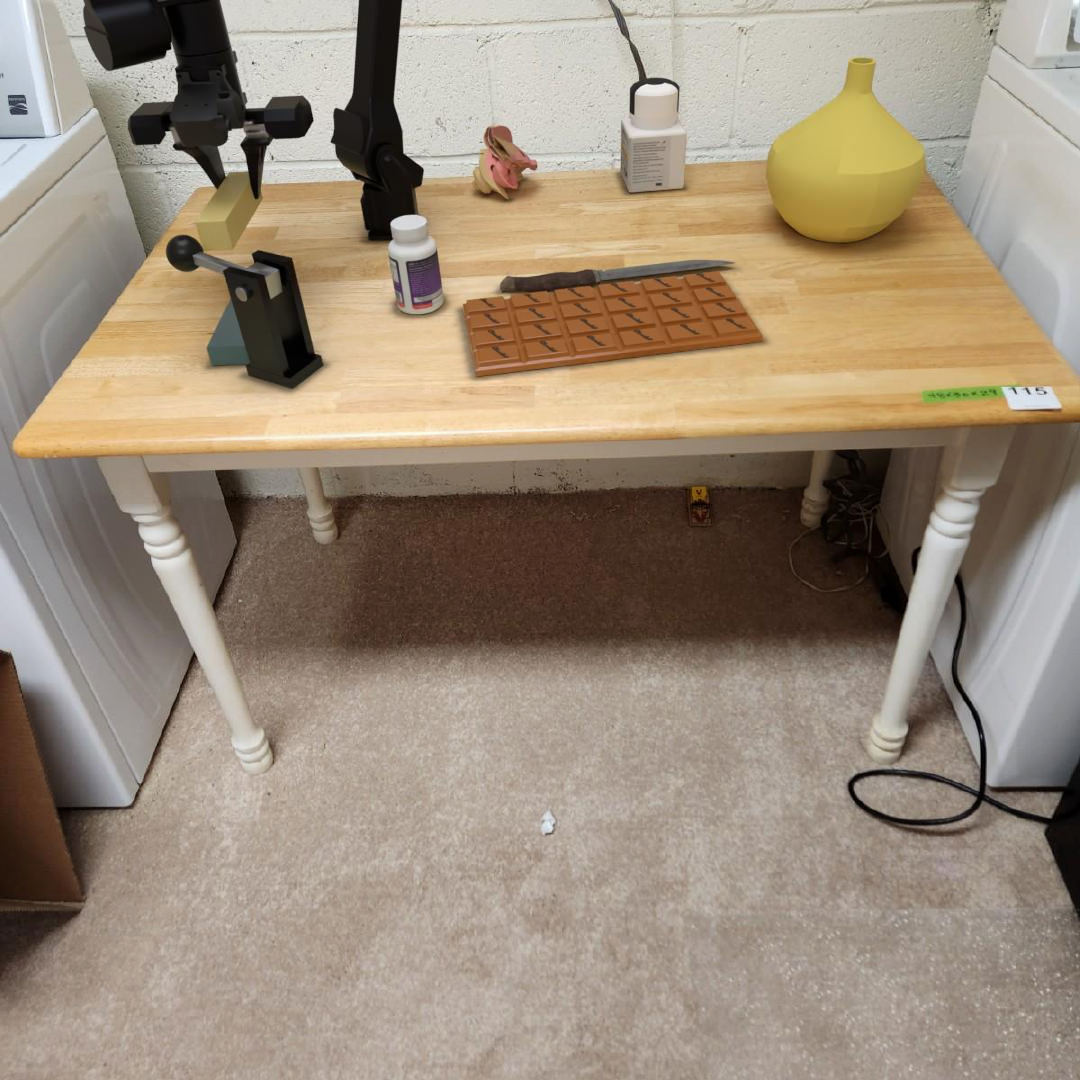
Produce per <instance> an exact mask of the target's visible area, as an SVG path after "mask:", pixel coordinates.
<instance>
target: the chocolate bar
mask: <svg viewBox="0 0 1080 1080" xmlns="http://www.w3.org/2000/svg"><path fill="white" fill-rule="evenodd" d="M553 291H554V292H553V293H552V292H551V293H548V290H547V291H532V292H526V293H525V292H524V293H517V294H510V297H508V298H504V296H503V295H500V296H498V295H497V296H492V297H490V296H489V297H481V298H474V299H467V300H466V303H462V309H463V315H464V321H465V325H466V331H467V337H468V340H469V345H470V350H471V356H472V360H473V366H474V370H475V374H476V377H484V376H485V377H486V376H491V375H501V374H509V373H517V372H524V371H532V370H541V369H549V368H559V367H565V366H566V367H567V366H574V365H581V364H589V363H590V364H591V363H598V362H605V361H606V362H607V361H613V360H621V359H622V360H623V359H631V358H637V357H646V356H647V357H648V356H654V355H663V354H671V353H678V352H687V351H695V350H703V349H711V348H718V347H719V348H720V347H728V346H736V345H744V344H751V343H753V344H754V343H761V342H763V334H762V333H761V331H760V329H759V328H758V327H757V325H756V324H755V322H754V321H753V320H752V318H751V317H750V314H749V313H748V312H747V310H746V309H745V308H744V306H743V305H742V303H741V302H740V300H739V298H738V297H737V296H736V294H735V293H734V291H733V290H732V288H731V286H730V285H729V284H728V282H727V281H726V279H725V278H724V277H723V274H722V273H721V272H720V271H719V270H715V271H707V272H699V273H690V274H683V277H682V278H678V276H677V275H673V276H664V277H663V276H661V277H654V278H647V279H640V282H639V283H635V281H634V280H627V281H619V282H611V283H602V284H597V286H596V288H592V285H590V286H577V287H572V288H566V289H559V290H553Z"/></svg>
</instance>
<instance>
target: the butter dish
mask: <svg viewBox="0 0 1080 1080" xmlns="http://www.w3.org/2000/svg"><path fill="white" fill-rule="evenodd" d="M206 351H207V354H208V358H209V361H210V364H211V366H212V367H215V366H233V365H234V366H235V365H247V364H248V363H250V361H249V358H248V354H247V351H246V348H245V344H244V341H243V338H242V334H241V331H240V328H239V324H238V321H237V317H236V314H235V311H234V307H233V304H232V301H231V297H230V299H229V300H228V302H227V305H226V307H225V308H224V311H223V312H222V315H221V317H220V319H219V321H218V323H217V325H216V327H215V329H214V331H213V333H212V334H211V337H210V339H209V341H208V344H207V345H206Z"/></svg>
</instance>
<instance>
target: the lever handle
mask: <svg viewBox="0 0 1080 1080" xmlns="http://www.w3.org/2000/svg"><path fill="white" fill-rule="evenodd" d="M165 255H166V259H167V261H168V263H169V264H170V265H171V267H173V268H174V269H176V270H177V271H180V272H183V273H191V272H195V271H196V270H198V269H199V268H203V269H206V270H209V271H212V272H214V273H218V274H220V275H223V276H224V274H223V270H225V269H227V268H228V267H234V268H238V269H242V270H246V271H250V272H254V273H258V274H263V275H264V276H265V279H266V283H267V287H268V291H269V295H270V298H271V299H272V298H273V297H275V296H276V295H278V294H280V293H281V292H282V285H281V279H280V273H279V270H278V269H276V268H273V267H270V266H267V265H264V264H262V263H259V262H256V263H254V262H253V263H252V264H251V265H249V266H247V267H246V266H242V265H239V264H237V263H233V262H231V261H228V260H225V259H222V258H220V257H217V256H214V255H212V254H209V253H206V252H205V251H203V248H202V244H201V242H199V240H197V239H196V238H195V237H193V236H192V235H188V234H178V235H175V236H173V237H172V238H171V239H170V240H168V242H167V244H166V247H165Z"/></svg>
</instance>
